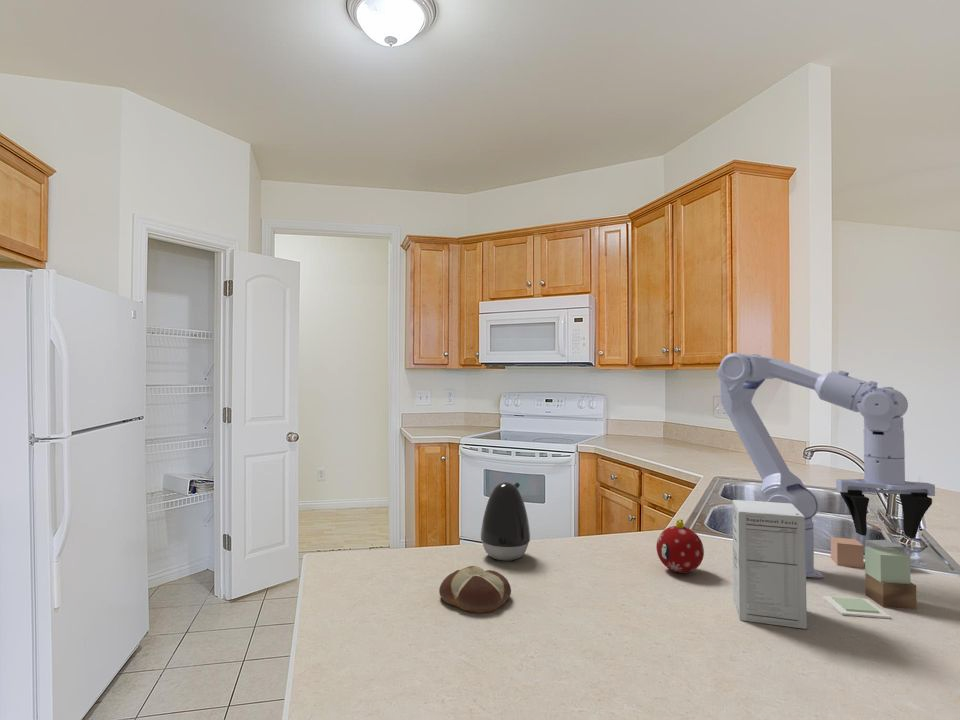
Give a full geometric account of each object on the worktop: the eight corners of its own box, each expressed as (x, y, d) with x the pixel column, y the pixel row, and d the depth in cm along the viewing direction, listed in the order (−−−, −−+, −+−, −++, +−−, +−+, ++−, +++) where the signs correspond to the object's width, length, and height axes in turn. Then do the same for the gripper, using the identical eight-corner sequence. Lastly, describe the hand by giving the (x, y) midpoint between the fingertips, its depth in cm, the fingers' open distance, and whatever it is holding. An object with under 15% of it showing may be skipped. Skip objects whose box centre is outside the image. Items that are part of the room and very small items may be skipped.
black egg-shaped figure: (538, 554, 114) (539, 481, 114) (515, 568, 105) (515, 489, 105) (497, 545, 119) (497, 476, 120) (470, 558, 110) (471, 483, 111)
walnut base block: (883, 608, 89) (883, 583, 89) (865, 596, 94) (865, 572, 94) (916, 610, 89) (916, 585, 89) (896, 598, 94) (896, 574, 94)
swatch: (841, 615, 86) (841, 611, 86) (821, 597, 93) (821, 593, 93) (890, 618, 85) (890, 614, 85) (866, 600, 92) (866, 597, 92)
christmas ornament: (714, 575, 103) (713, 522, 103) (680, 582, 99) (680, 527, 99) (679, 561, 110) (679, 512, 111) (646, 567, 107) (647, 516, 107)
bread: (478, 621, 83) (479, 587, 83) (428, 599, 90) (429, 569, 91) (524, 599, 91) (524, 569, 91) (474, 582, 99) (474, 554, 99)
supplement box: (795, 606, 89) (794, 502, 90) (809, 630, 80) (808, 516, 81) (731, 598, 92) (731, 498, 93) (737, 620, 84) (737, 510, 84)
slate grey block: (883, 569, 107) (883, 546, 108) (865, 562, 112) (865, 540, 112) (904, 569, 108) (904, 546, 108) (885, 561, 112) (885, 539, 113)
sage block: (880, 582, 90) (880, 554, 90) (865, 572, 94) (864, 546, 95) (910, 584, 89) (910, 556, 89) (893, 574, 94) (893, 547, 94)
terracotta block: (837, 565, 110) (837, 543, 110) (830, 558, 114) (830, 537, 114) (863, 568, 108) (863, 545, 108) (855, 561, 112) (855, 539, 113)
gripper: (849, 458, 92) (850, 539, 92) (946, 461, 90) (948, 544, 89) (830, 452, 99) (831, 528, 99) (919, 455, 97) (921, 532, 96)
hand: (885, 535), depth 94 cm, fingers open, 7 cm apart
